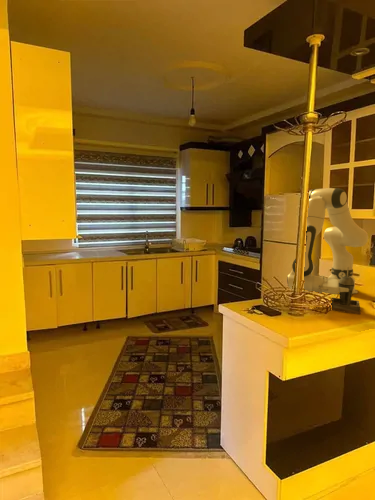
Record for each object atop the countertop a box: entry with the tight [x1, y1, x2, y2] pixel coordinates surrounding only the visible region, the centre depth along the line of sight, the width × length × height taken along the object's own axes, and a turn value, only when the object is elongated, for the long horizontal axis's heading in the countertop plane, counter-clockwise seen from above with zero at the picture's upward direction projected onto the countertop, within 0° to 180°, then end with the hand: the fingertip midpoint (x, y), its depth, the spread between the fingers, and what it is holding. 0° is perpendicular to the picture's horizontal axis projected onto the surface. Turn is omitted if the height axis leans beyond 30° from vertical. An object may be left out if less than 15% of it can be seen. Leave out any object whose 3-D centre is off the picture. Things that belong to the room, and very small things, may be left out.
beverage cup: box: [339, 267, 354, 306], centre depth 178 cm, size 7×7×20 cm
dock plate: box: [331, 297, 362, 315], centre depth 179 cm, size 14×14×3 cm
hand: (348, 287), depth 178 cm, fingers open, 8 cm apart
